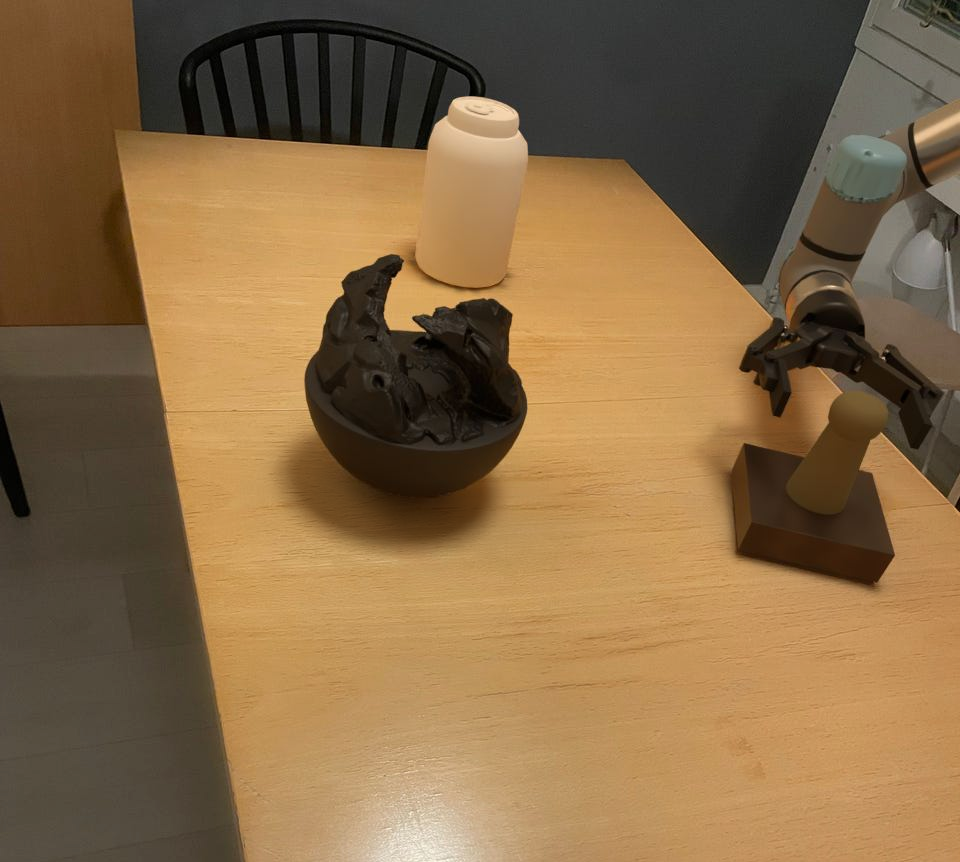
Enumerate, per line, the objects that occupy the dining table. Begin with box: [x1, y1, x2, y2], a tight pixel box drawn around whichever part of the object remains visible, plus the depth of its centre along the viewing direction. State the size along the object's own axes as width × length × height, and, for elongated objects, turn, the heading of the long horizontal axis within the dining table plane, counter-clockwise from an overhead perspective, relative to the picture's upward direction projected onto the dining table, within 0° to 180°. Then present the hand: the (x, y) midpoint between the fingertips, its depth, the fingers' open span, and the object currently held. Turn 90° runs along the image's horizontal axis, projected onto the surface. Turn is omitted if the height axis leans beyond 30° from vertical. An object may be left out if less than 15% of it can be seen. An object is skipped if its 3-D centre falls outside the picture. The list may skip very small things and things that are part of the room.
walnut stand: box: [731, 442, 896, 586], centre depth 92 cm, size 14×14×4 cm
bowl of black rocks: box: [303, 253, 528, 499], centre depth 81 cm, size 20×20×19 cm
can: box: [414, 95, 529, 289], centre depth 116 cm, size 12×12×20 cm
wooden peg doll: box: [786, 390, 889, 515], centre depth 87 cm, size 6×6×11 cm
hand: (851, 420), depth 86 cm, fingers open, 13 cm apart
